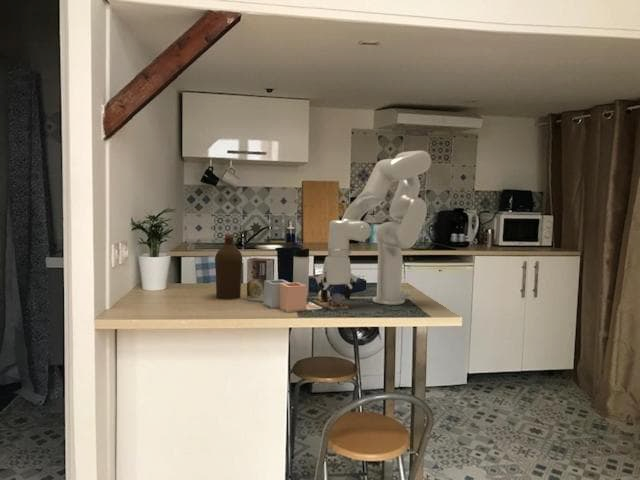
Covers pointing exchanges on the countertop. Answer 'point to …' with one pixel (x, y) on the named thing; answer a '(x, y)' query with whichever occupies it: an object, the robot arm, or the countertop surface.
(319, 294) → the beech ball
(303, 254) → the travel mug
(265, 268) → the coffee box
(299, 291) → the pink square planter
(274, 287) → the grey square pot
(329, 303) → the speckled flat slab
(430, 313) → the countertop surface
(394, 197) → the robot arm
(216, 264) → the olive oil
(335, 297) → the grey ball
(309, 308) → the card
